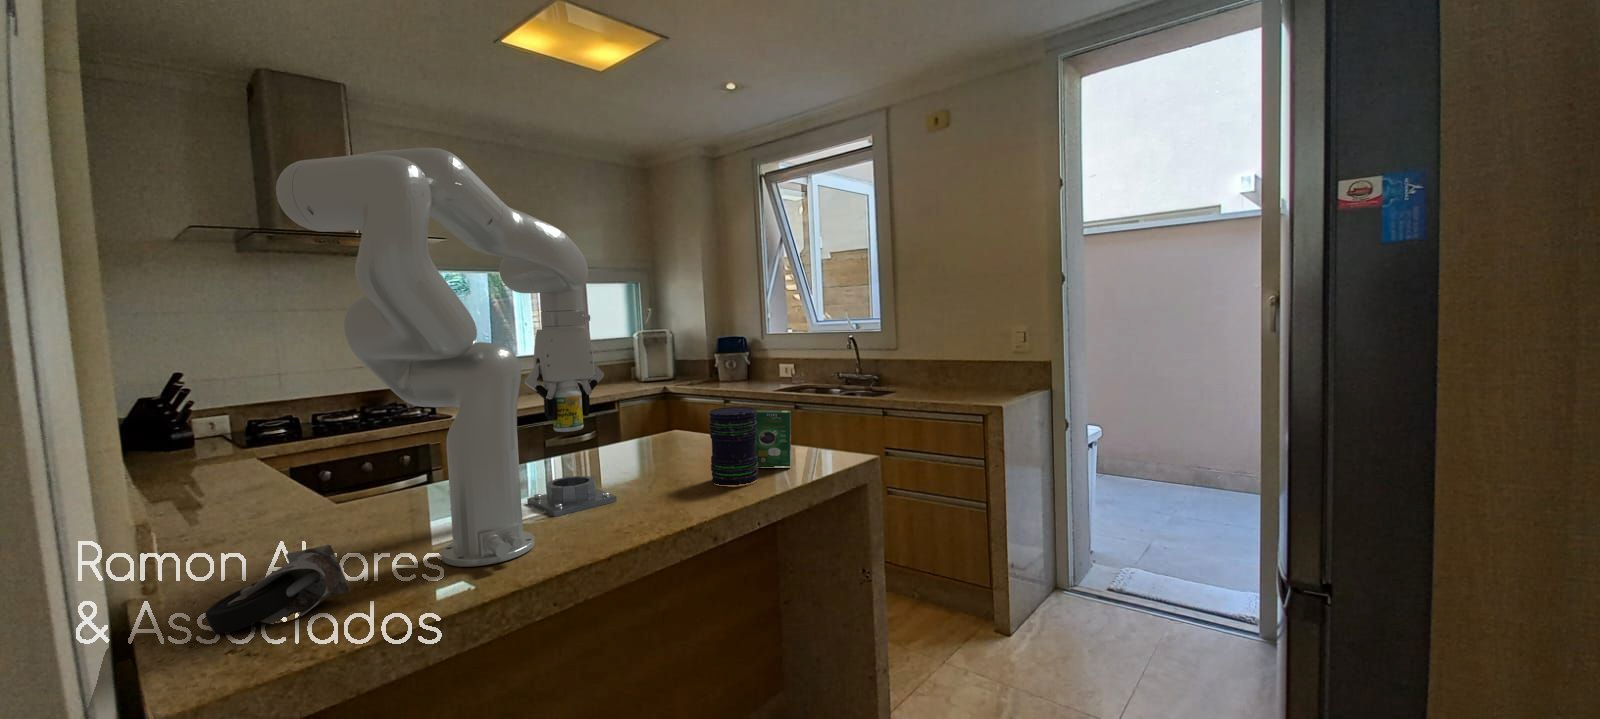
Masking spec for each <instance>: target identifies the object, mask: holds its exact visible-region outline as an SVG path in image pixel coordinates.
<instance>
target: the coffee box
mask: <svg viewBox="0 0 1600 719" xmlns="http://www.w3.org/2000/svg"><path fill="white" fill-rule="evenodd" d="M791 412H792V410H764V409H762V410H760V409H759V410H757V409H756V414H755V416H756V422H757V428H756V429H757V436H756V454H757V457H758V461H757V462H758V467H774V466H790V465H791V466H792V446H791V445H792V444H791V443H792V435H791V434H792V428H791V427H792V414H791Z"/></svg>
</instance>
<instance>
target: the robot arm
mask: <svg viewBox="0 0 1600 719" xmlns="http://www.w3.org/2000/svg"><path fill="white" fill-rule="evenodd" d="M275 186H276V187H275V192H276V193H275V194H276V198H277V202H278V204H279V206H280V208H281V210H282V211H283V212H284V214H285V215H286V216H287V217H288V218H289V219H290V220H291V221H293V222H294V223H295V224H297V225H298V226H300V227H302V228H305V229H307V230H311V231H315V232H322V233H323V232H324V233H325V232H326V233H327V232H331V233H332V232H351V231H361V236H360V242H359V246H358V252H357V255H356V261H355V266H354V267H355V268H354V272H355V280H356V283H357V285H358V287H359V288H360V290H361V291H362V293H363V294H364V295H362V296H361V297H358V298H357V299H355V300H353V302H352V303H351V304H350V305H349V306H348V309H347V310H346V312H345V315H344V320H343V321H344V322H343V329H344V335H345V338H346V340H347V344H348V345H349V347H350V350H351V351H352V352H353V354H354V355H355V356H356V357H357V358H358V360H360V362H361V363H362V364H364V366H365V367H366V368H368V369H369V370H370V372H372V373H373V375H375V376H376V377H377V379H379V380H380V381H381V382H382V383H383V384H384V385H385V386H386V387H387V388H389V389H390V390H391V391H392V392H393V393H394V394H395V395H396V396H397V397H399V398H400V399H401V400H402V401H404V402H405V403H407V404H410V405H412V406H416V407H423V408H458V411H457V414H456V415H455V417H454V420H453V421H452V423H451V424H450V426H449V429H448V432H447V435H446V443H445V444H446V446H445V447H446V456H447V470H448V474H447V475H448V487H449V489H448V490H449V499H450V501H449V504H450V514H451V515H450V516H451V529H452V542H451V543H449V544H448V545H446V546H445V547H444V548H443V549H442V551H441V560H442V562H444V563H445V564H447V565H450V566H451V567H452V566H453V567H465V568H467V567H469V568H470V567H481V566H488V565H489V566H490V565H492V564H494V565H495V564H498V563H502V562H507V561H509V560H513V559H515V558H518V557H520V556H522V555H524V554H526V553H528V552H529V551H530V550H531V549H533V547H534V546H535V536H534V535H533V534H532V533H530V532H529V531H525V530H524V528H523V512H522V511H523V510H522V509H523V508H522V492H521V491H522V490H521V477H520V460H519V441H518V405H519V404H518V403H519V394H520V388H521V380H522V367H521V363H520V359H519V358H518V357H517V355H516V353H514V351H512V350H511V349H510V348H509V347H506V346H504V345H502V344H499V343H498V344H497V343H493V342H483V341H482V342H480V341H479V342H478V341H477V342H476V340H477V336H478V332H477V331H478V330H477V326H476V322H475V320H474V318H473V316H472V314H471V313H470V312H469V310H468V308H467V307H466V305H465V304H464V303H463V302H462V300H461V299H460V297H458V295H457V294H456V293H455V290H453V288H452V287H451V286H450V285H449V283H448V282H447V281H446V279H445V277H443V275H442V274H441V273H440V271H439V269H438V268H437V267H436V265H435V263H434V262H433V261H432V258H431V255H430V252H429V248H428V247H429V242H428V237H429V236H428V234H429V223H430V217H431V218H432V219H433V220H435V221H436V222H437V223H438V224H440V225H441V226H442V227H443V228H445V229H446V230H447V231H448V232H449V233H451V234H452V235H453V236H454V237H455V238H457V239H458V240H459V241H460V242H462V243H463V244H464V245H465V246H467V247H468V248H470V249H472V250H473V251H476V252H479V253H483V254H487V255H491V256H496V257H500V258H501V257H502V260H501V262H500V264H499V268H498V269H499V271H498V272H499V277H500V279H501V281H502V283H503V284H504V285H505V287H507V288H508V289H509V290H511V291H513V292H516V293H519V294H539V306H540V308H539V309H540V325H541V327H540V328H541V329H536V331H535V338H534V348H533V368H532V370H531V371H530V373H529V374H528V375H527V376H526V377H525V379H524V384H525V385H526V386H527V387H529V388H530V389H532V390H533V391H534V392H535V393H536V394H538V395H539V396H540V397H541V399H543V410H544V415H545V417H546V420H547V421H548V420H549V421H552V422H553V421H555V420H557V419H558V418H557V400H556V399H554V392H555V390H556V384H557V383H560V382H565V381H569V380H574V381H577V386H576V387H577V389H579V390H580V391H581V393H582V409H583V417H588V416H589V415H590V414H589V411H590V410H591V401H590V395H591V394H592V392H593V390H594V389H595V388H596V386H598V383H599V382H600V381H601V380H603V378H604V377H605V373H604V372H603V370H601V368H600V367H598V365H597V364H596V363H595V359H594V352H593V345H592V340H591V336H590V332H589V329H588V328H587V327H585V325H586V322H590V321H591V315H590V314H586V313H585V310H584V297H583V296H584V294H583V292H584V291H583V287H584V286H585V285H586V282H587V280H588V278H589V267H588V263H587V260H586V258H585V256H584V254H583V253H582V252H581V250H580V249H579V247H578V246H577V245H576V244H575V242H574V241H573V240H572V239H571V238H570V236H568V235H567V234H566V233H565V232H564V231H562V230H561V229H560V228H558V227H555V226H554V225H552V224H550V223H548V222H546V221H544V220H541V219H539V218H537V217H534V216H532V215H529V214H528V213H525V212H523V211H521V210H517V209H514V208H512V207H509V206H508V205H507V204H506V203H505V202H503V201H502V199H501V198H500V197H499V196H498V195H497V194H495V193H494V191H493V190H491V188H489V187H488V186H487V185H486V184H485V183H484V182H483V180H482V179H480V177H479V176H477V174H475V173H474V172H473V170H471V169H470V167H469V166H467V164H466V163H464V162H463V161H462V160H461V159H460V158H459V157H458V156H456V155H455V154H454V153H452V152H451V151H448V150H446V149H443V148H438V147H418V148H417V147H416V148H414V147H413V148H404V149H391V150H378V151H371V152H370V151H369V152H366V153H365V152H364V153H360V154H351V155H344V156H333V157H323V158H312V159H303V160H298V161H295V162H293V163H291V164H289V165H288V166H286V167H285V168H284V169H283V170H282V171H281V173H280V174H279V177H278V179H277V181H276V185H275ZM539 382H540V383H543V385H541V384H540V383H539Z"/></svg>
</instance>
